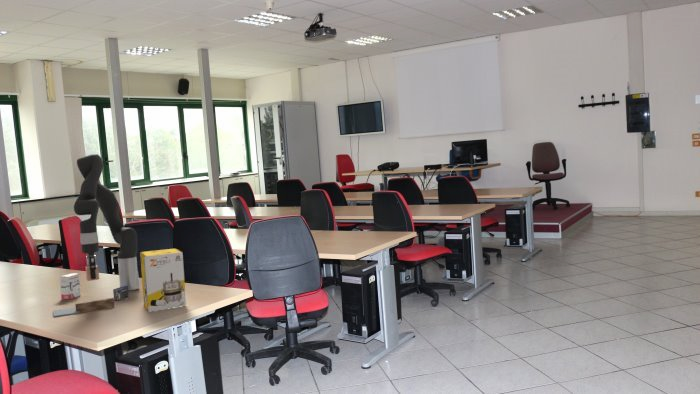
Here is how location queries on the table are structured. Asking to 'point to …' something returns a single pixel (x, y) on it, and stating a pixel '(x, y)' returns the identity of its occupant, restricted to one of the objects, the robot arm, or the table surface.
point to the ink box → (70, 286)
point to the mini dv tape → (120, 293)
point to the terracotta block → (89, 273)
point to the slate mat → (65, 312)
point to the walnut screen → (94, 305)
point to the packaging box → (163, 279)
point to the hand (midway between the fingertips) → (92, 277)
